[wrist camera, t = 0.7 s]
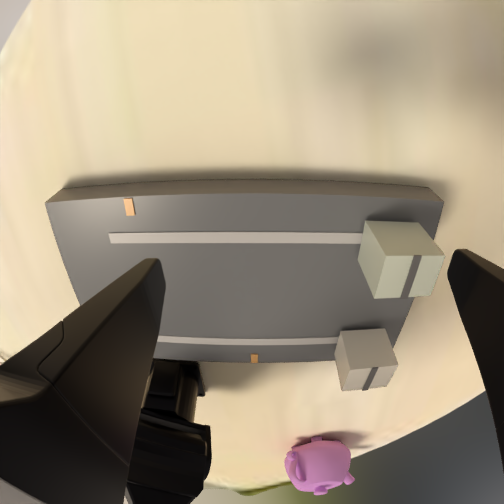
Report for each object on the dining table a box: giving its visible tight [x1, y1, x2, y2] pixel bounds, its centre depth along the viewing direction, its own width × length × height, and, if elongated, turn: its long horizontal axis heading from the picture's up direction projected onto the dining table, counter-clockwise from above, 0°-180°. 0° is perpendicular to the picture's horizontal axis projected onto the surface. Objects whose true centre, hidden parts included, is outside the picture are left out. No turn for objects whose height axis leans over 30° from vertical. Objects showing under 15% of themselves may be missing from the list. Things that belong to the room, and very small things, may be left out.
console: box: [45, 179, 444, 363], centre depth 24 cm, size 16×28×3 cm, turn 90°
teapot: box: [285, 436, 355, 495], centre depth 41 cm, size 10×15×9 cm
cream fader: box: [334, 328, 398, 391], centre depth 24 cm, size 3×4×4 cm
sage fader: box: [358, 221, 445, 299], centre depth 18 cm, size 3×4×4 cm
